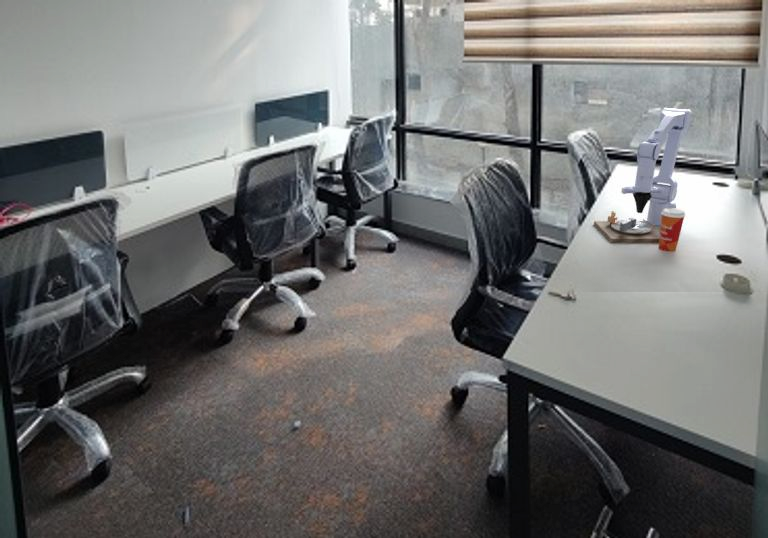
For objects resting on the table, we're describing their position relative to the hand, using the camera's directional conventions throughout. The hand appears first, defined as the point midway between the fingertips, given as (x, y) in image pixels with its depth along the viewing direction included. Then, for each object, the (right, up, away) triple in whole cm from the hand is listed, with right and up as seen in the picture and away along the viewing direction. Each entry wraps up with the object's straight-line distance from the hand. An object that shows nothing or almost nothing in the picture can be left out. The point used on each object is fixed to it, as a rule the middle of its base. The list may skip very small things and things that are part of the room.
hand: (639, 212), depth 226 cm
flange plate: (-2, -5, +6) cm, 8 cm away
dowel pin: (-6, -4, +12) cm, 14 cm away
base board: (-1, -7, +7) cm, 10 cm away
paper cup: (+6, -14, -9) cm, 18 cm away
